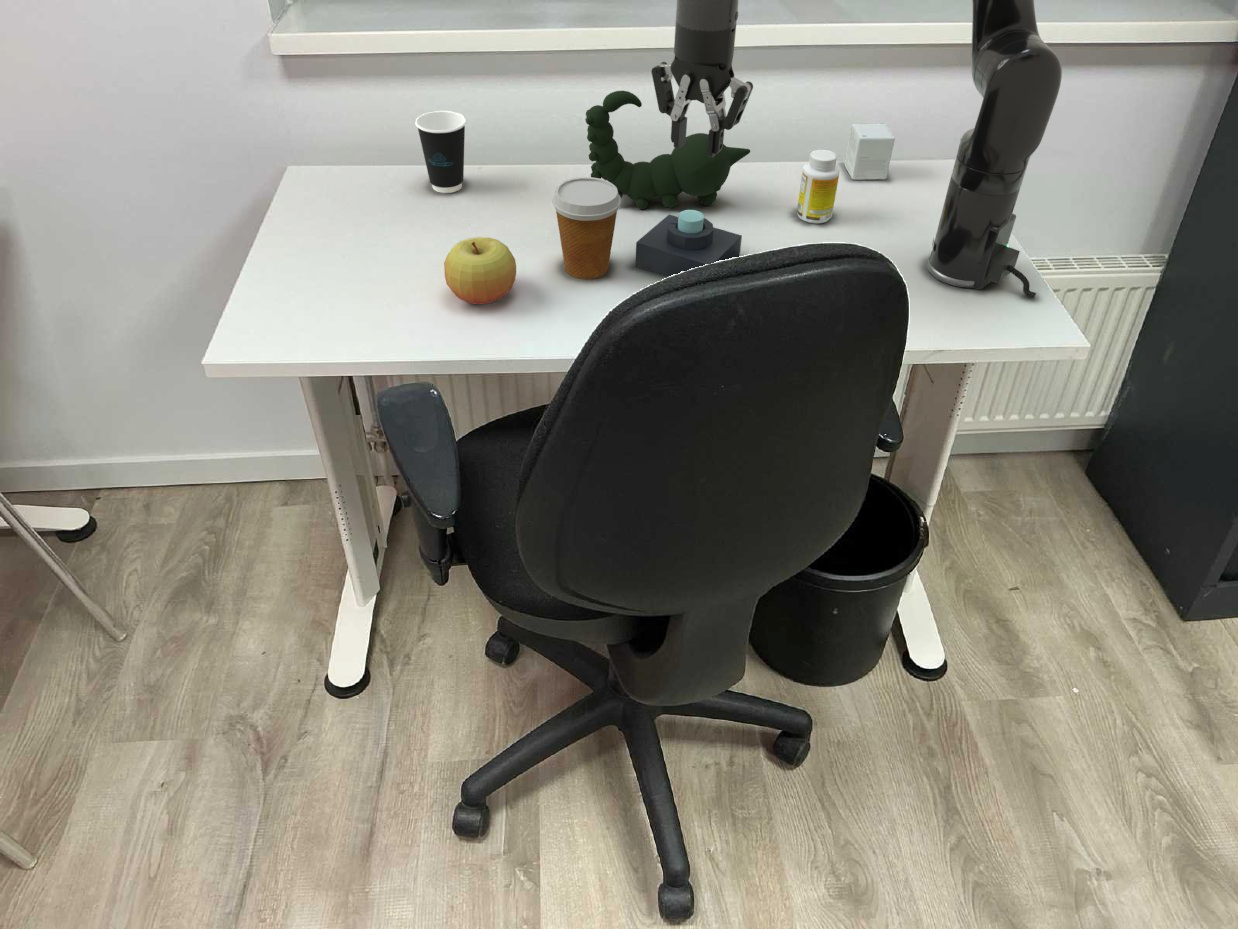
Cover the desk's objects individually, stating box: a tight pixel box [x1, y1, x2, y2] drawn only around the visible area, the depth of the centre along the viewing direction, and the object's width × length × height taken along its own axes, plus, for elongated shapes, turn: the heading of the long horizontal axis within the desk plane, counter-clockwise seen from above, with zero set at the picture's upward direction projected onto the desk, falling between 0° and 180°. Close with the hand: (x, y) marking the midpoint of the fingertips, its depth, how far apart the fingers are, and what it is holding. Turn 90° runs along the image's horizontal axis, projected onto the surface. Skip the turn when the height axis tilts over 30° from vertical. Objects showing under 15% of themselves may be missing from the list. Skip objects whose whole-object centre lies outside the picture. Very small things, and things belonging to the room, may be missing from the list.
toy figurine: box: [585, 90, 751, 210], centre depth 154 cm, size 9×19×25 cm
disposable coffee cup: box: [551, 176, 622, 280], centre depth 140 cm, size 10×10×12 cm
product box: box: [844, 123, 896, 181], centre depth 167 cm, size 6×6×7 cm
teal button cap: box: [677, 209, 705, 233], centre depth 141 cm, size 4×4×2 cm
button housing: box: [634, 213, 743, 278], centre depth 143 cm, size 12×10×6 cm
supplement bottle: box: [796, 149, 840, 224], centre depth 154 cm, size 6×6×10 cm
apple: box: [443, 236, 517, 305], centre depth 135 cm, size 10×10×8 cm
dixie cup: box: [414, 110, 467, 194], centre depth 158 cm, size 8×8×11 cm
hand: (696, 149), depth 134 cm, fingers open, 4 cm apart
